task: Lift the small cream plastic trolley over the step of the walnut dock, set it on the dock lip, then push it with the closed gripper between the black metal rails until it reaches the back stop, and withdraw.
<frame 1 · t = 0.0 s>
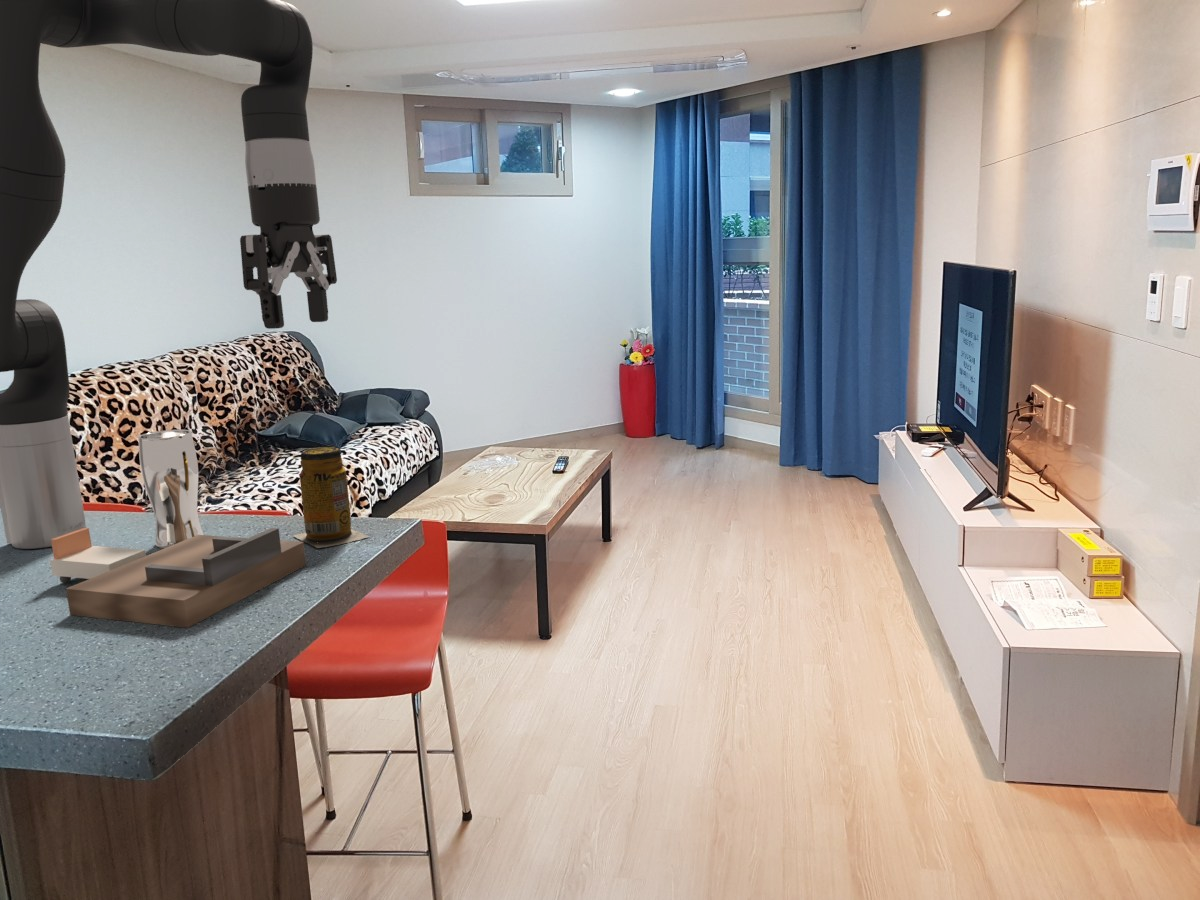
hand: (297, 324, 111), 29 cm above the countertop, fingers open, 8 cm apart
dock: (195, 588, 109), on the countertop
condiment: (331, 539, 127), on the countertop
trolley: (102, 579, 113), on the countertop
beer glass: (180, 543, 128), on the countertop
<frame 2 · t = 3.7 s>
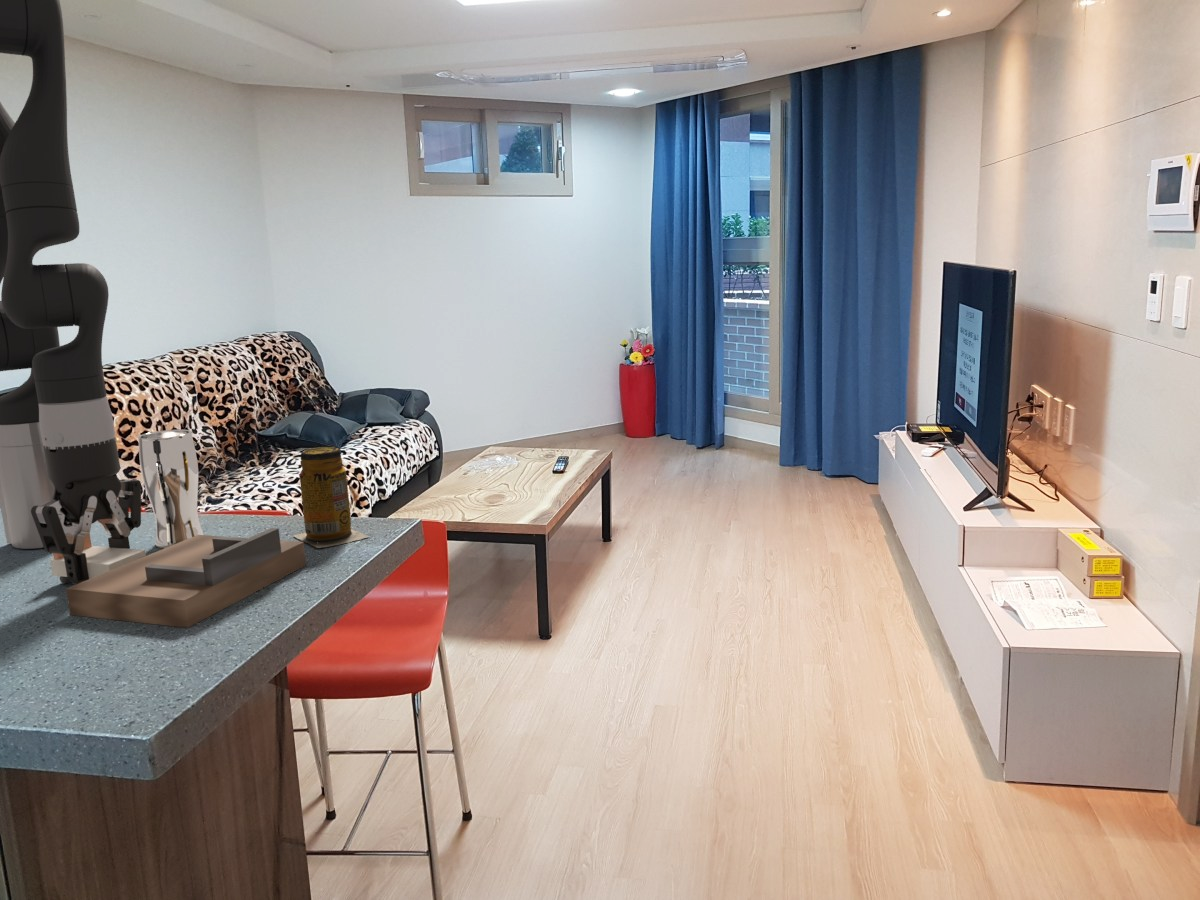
hand: (101, 574, 113), 1 cm above the countertop, fingers closed on trolley, 5 cm apart
trolley: (102, 579, 113), on the countertop, touching gripper
everything else where it was.
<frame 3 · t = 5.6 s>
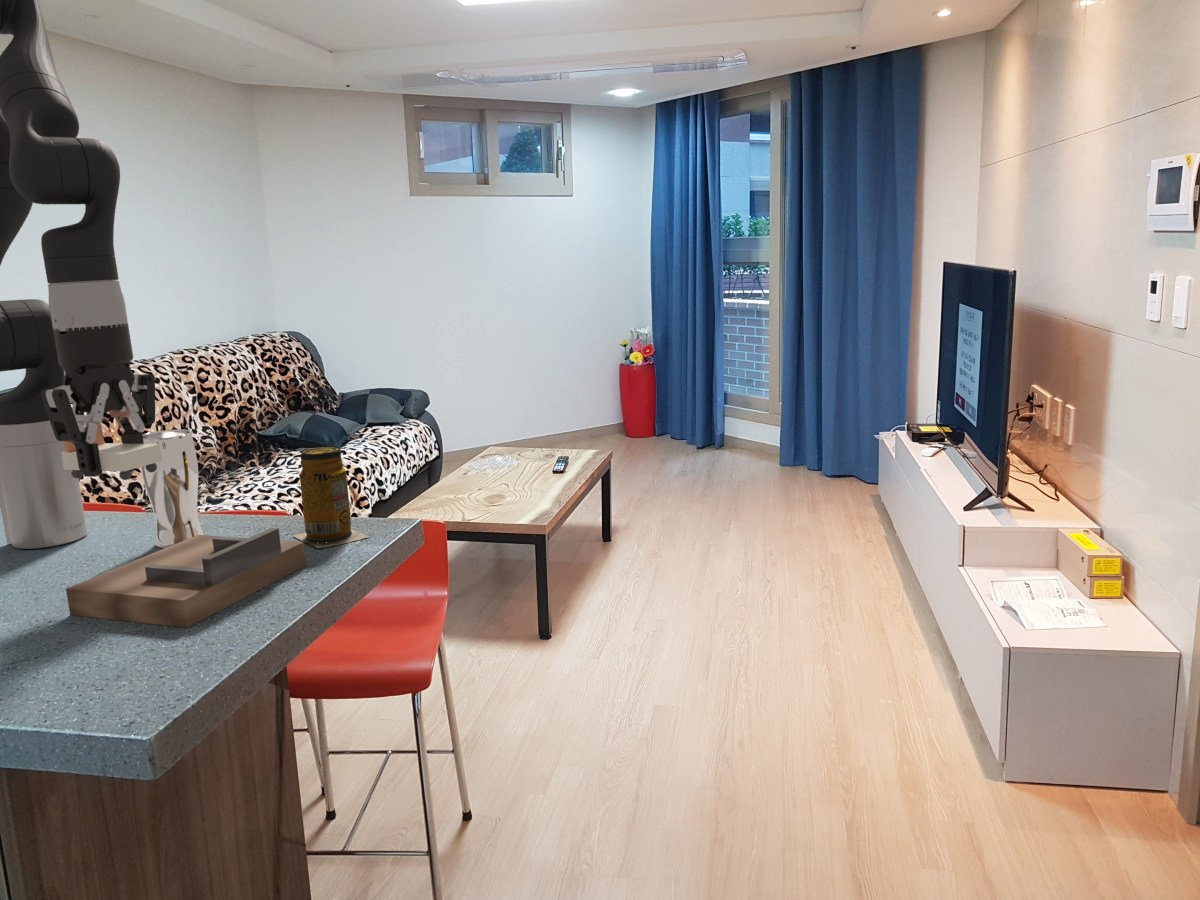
hand: (114, 469, 109), 14 cm above the countertop, fingers closed on trolley, 5 cm apart
trolley: (115, 475, 109), point 13 cm above the countertop, touching gripper
everything else where it was.
when the fingers open (5 cm above the countertop, at t = 8.0 s): trolley drops 1 cm, resting on dock.
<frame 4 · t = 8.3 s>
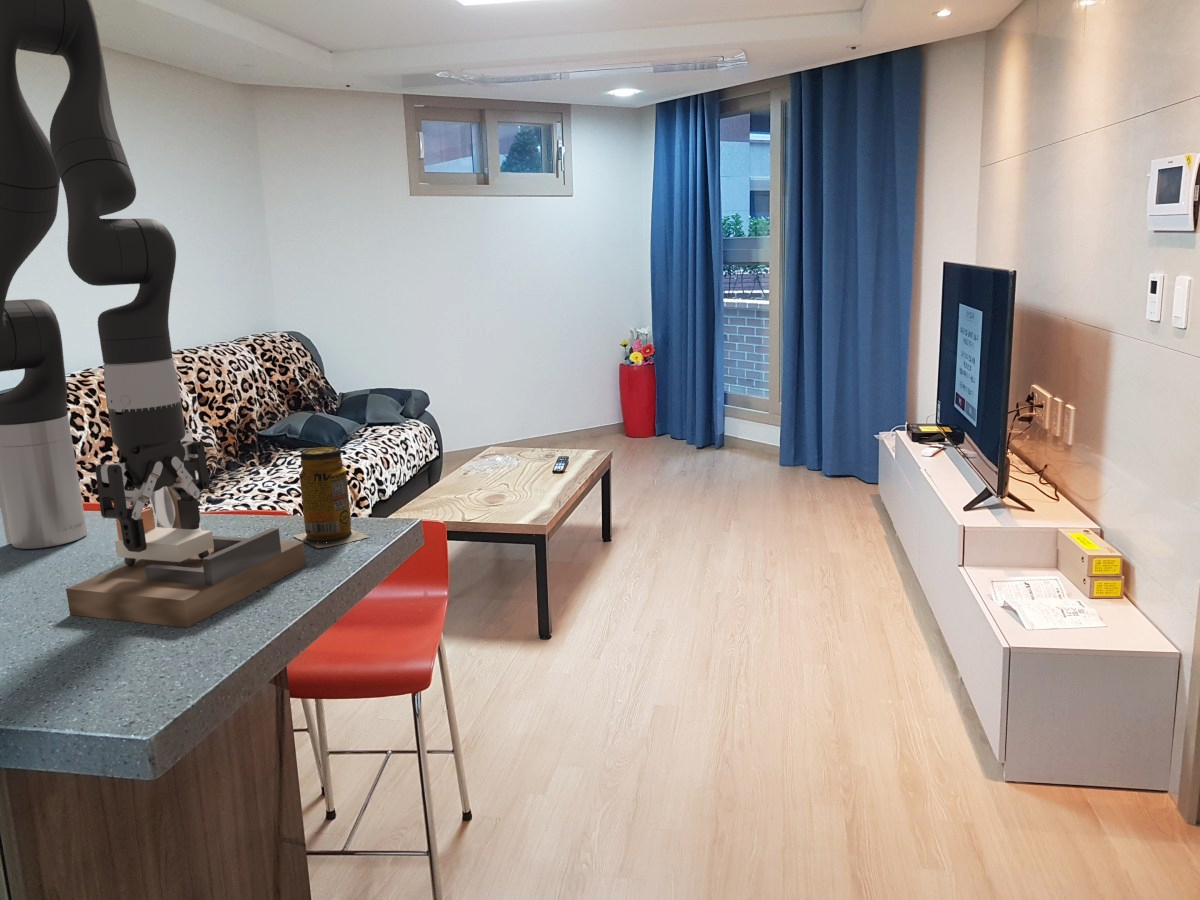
hand: (164, 539, 109), 6 cm above the countertop, fingers open, 8 cm apart
trolley: (167, 561, 109), point 3 cm above the countertop, touching dock
everything else where it was.
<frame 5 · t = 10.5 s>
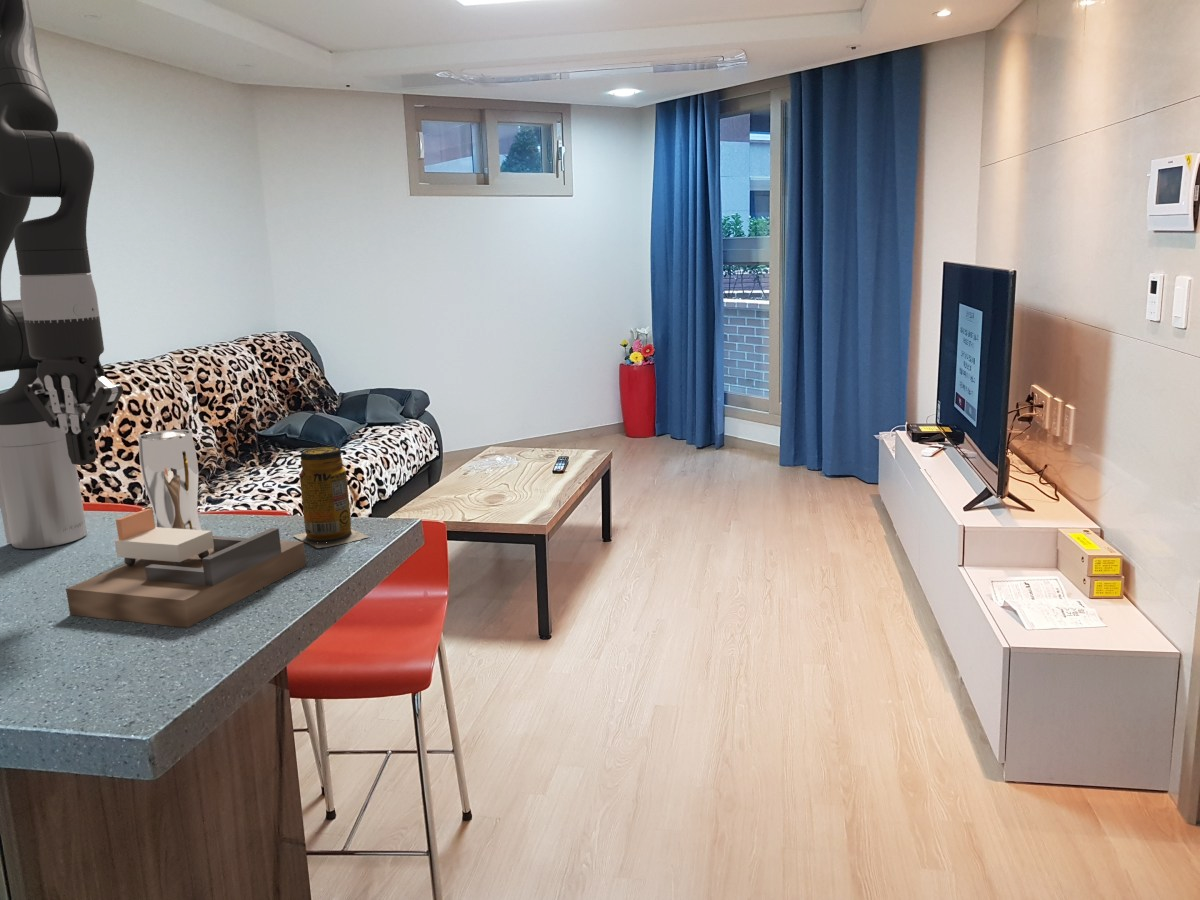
hand: (83, 463, 110), 15 cm above the countertop, fingers closed
nothing on the countertop moved.
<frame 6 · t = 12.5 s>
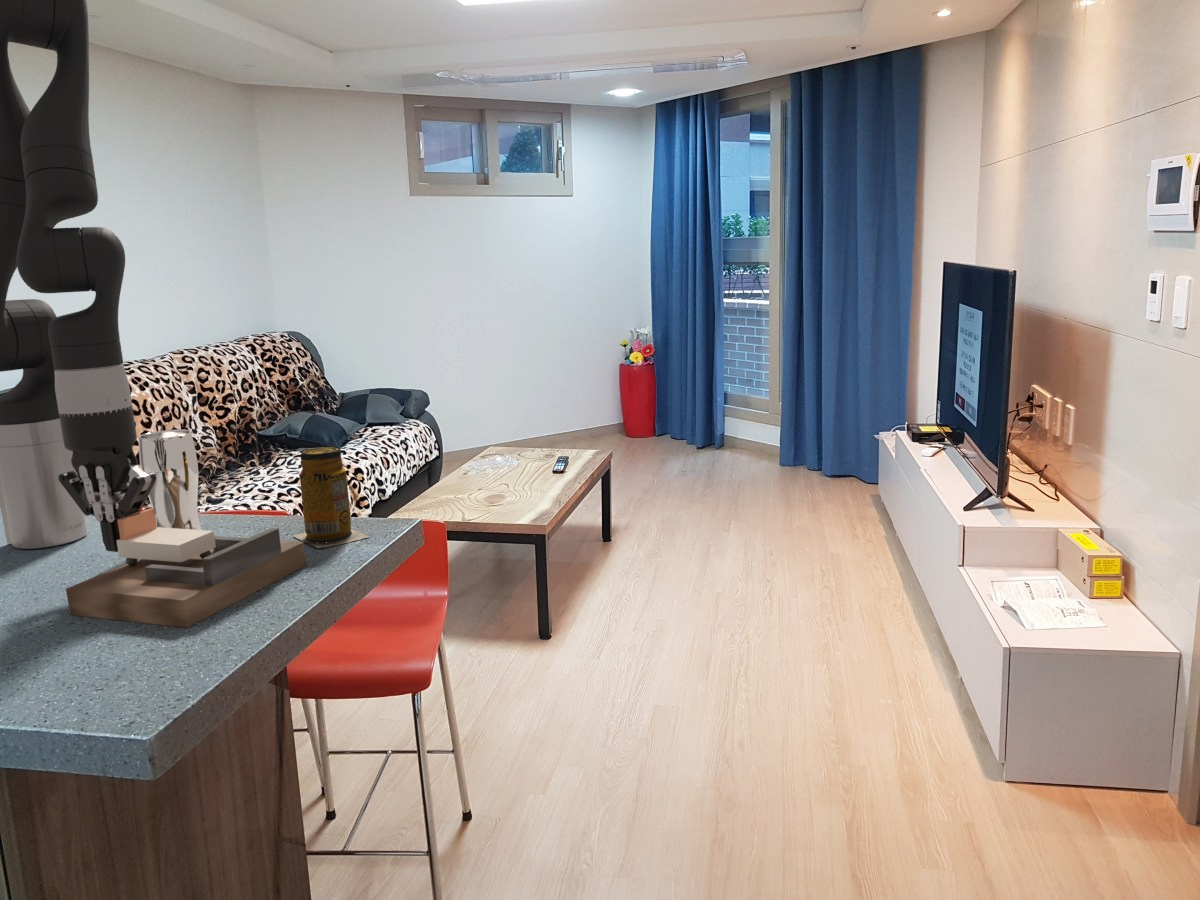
hand: (118, 549, 111), 4 cm above the countertop, fingers closed
trolley: (169, 562, 109), point 3 cm above the countertop, touching dock, gripper
everything else where it was.
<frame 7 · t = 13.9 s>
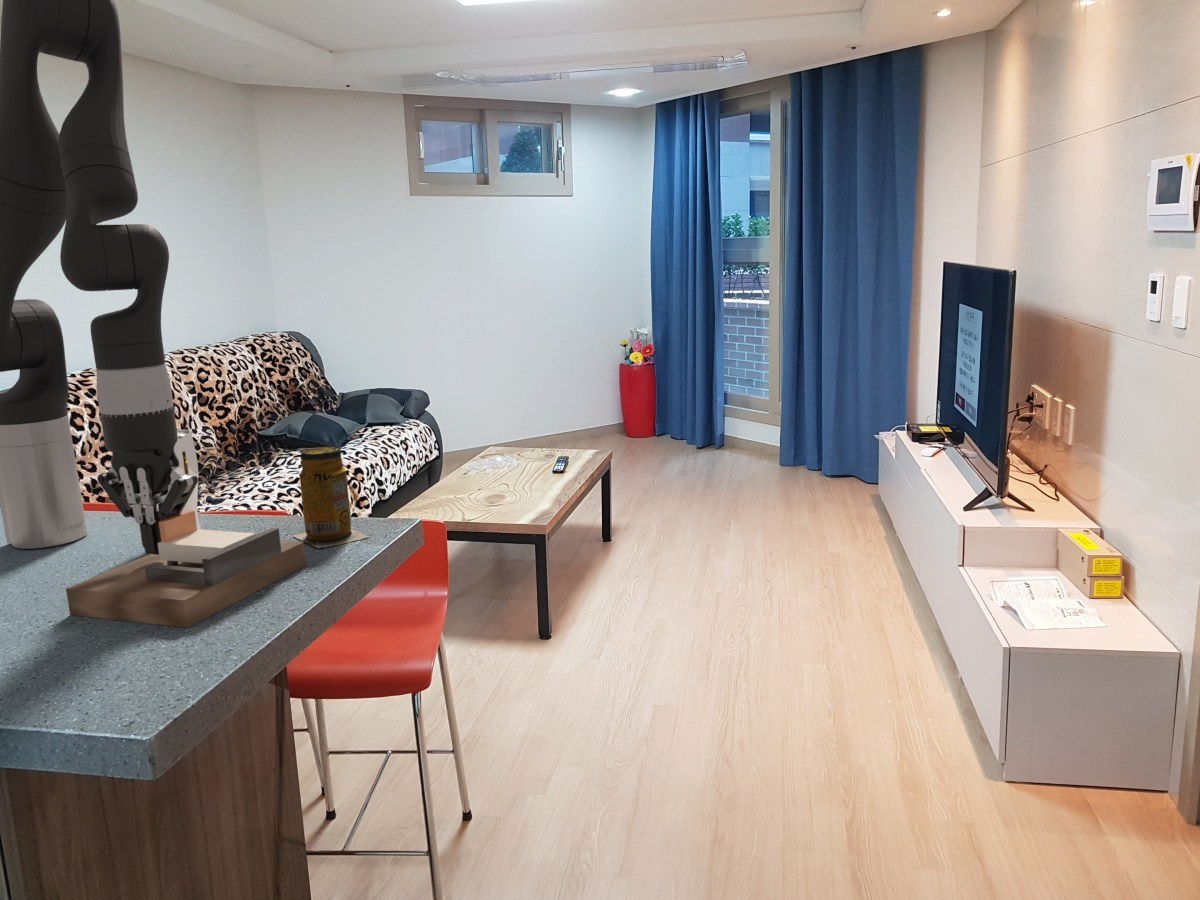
hand: (157, 552, 110), 4 cm above the countertop, fingers closed
trolley: (210, 564, 108), point 3 cm above the countertop, touching dock, gripper
everything else where it was.
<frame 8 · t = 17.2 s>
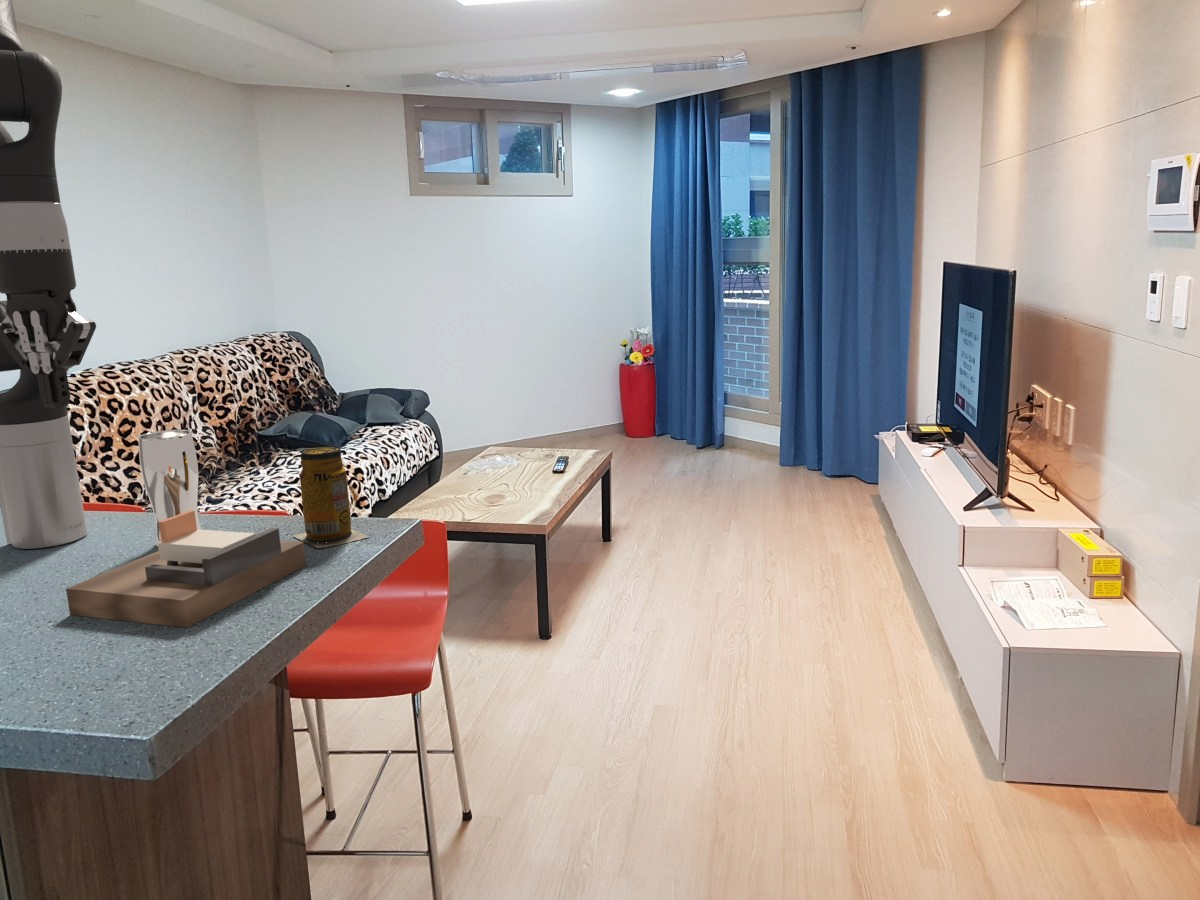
hand: (56, 406, 105), 22 cm above the countertop, fingers closed
trolley: (210, 564, 108), point 3 cm above the countertop, touching dock
everything else where it was.
at the end: trolley 0.2 cm from the target spot on the dock, point 3.0 cm above the dock's base; trolley tilted 0°; the gripper is holding nothing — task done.
